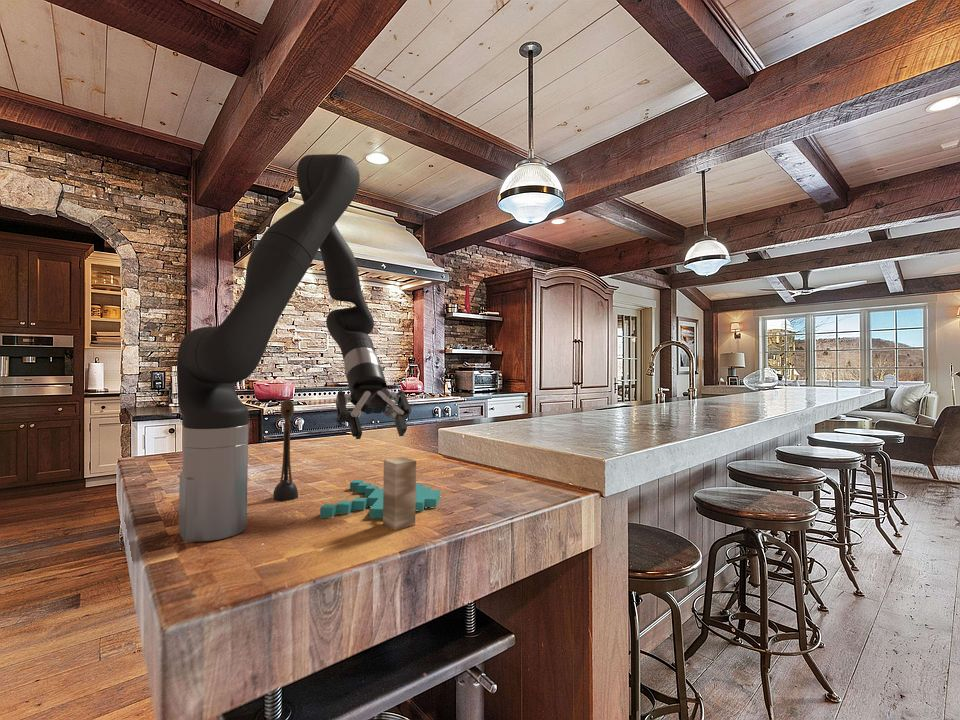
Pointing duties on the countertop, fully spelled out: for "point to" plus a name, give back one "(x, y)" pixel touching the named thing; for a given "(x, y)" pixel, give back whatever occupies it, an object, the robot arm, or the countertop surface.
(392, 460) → the tall wooden block
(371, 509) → the teal pixel invader
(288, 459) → the wooden tabletop sculpture
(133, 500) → the countertop surface
